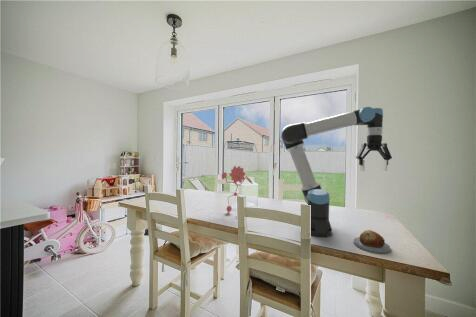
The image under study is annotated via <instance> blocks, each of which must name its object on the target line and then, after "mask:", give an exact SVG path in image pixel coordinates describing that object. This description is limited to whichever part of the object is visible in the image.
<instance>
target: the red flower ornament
mask: <svg viewBox="0 0 476 317" xmlns="http://www.w3.org/2000/svg"><path fill="white" fill-rule="evenodd" d="M228 175H229V177H231V178H230V180H231V181H227V180H228V179H227V176H228ZM228 175H227V172H225V171H224V172H222V174H221V176H220V177H221V179H222V180H224V179H225V183H227V184H230V183H231V184H235V185H236V189H235V192H233V194H232V195H229V196H228V197H227V203H228V206H227V207H226V211H227V212H226V215H227V216H228V214H229V213H230V212H231V211H233V208H232V206H231V205H230V203H229V201H230V200H229V198H231V197H233V196H234V197H238V196H239V195H238V193H237V190H238V186H241V185H242V184H243V183H244V181H245V180H247V181H248V182H249V183H250V184H252V185H253V181H252V180H251V179H250V178H249V177H248V176H246V172H244V167H241V165H239V166H236V165H234V166H233V168H231V169H230V173H229V174H228ZM239 183H240V184H239ZM235 211H237V209H236V210H235Z"/></svg>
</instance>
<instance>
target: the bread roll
mask: <svg viewBox="0 0 476 317" xmlns="http://www.w3.org/2000/svg"><path fill="white" fill-rule="evenodd" d="M359 237H360V238H359V239H360V242H361V243H362V244H364V245H366V246H369V247H374V248H381V247H383V246H384V244H385V243H386V242H385V238H384V237H383V236H382V235H381V234H379V233H378V232H376V231H374V230H371V229H368V230H364V231H363V232H361V233H360V236H359ZM384 242H385V243H384Z"/></svg>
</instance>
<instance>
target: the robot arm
mask: <svg viewBox="0 0 476 317" xmlns="http://www.w3.org/2000/svg"><path fill="white" fill-rule="evenodd" d="M383 118H384V110H383V108H380V107H374V108H373V107H371V106H365V107H362V108H360V109H356V110H353V111H348V112H345V113H340V114H337V115H333V116H329V117H325V118H321V119H317V120H314V121H310V122H304V121H303V122H297V123H292V124H288V125H286V126H284V127H283V129H282V130H281V135H280V136H281V139H282V143H283V144H284V147H285V149H286V151H288V152H289V154H290V156H291V159H292V161H293V165H294V168H295V169H296V172H297V175H298V177H299V180H300V183H301V186H302V187H301V189H300V190H301V192H302V195H303V197H304V201H305V202H306V205H307V204H308V205H311V235H310V236H313V237H314V236H315V237H319V238H320V237H321V238H322V237H323V238H327V237H331V236H332V234H333V229H332V225H331V222H330V198H331V197H330V193H329V192H328V191H327V190H324V189H322V187H321V184H320V183H319V182H317V180H316V178H315V176H314V173H313V170H312V167H311V165H310V162H309V159H308V158H307V154H306V152H305V150H304V144H305V142H304V140H306V139H308V138H309V137H311V136H316V135H319V134H323V133H328V132H332V131H335V130H338V129H339V130H340V129H343V128H348V127H353V126H367V127H366V134H367V136H366V142H362V143H361V145H360V149H358V152H357V154H356V156H355V159H357V160H359V161H358V165H359V167H360V168H359V171H361V172H364V171H365V157H366V156H367V155H369V153H370V152H371V151H373V152H374V151H375V152H378V153H379V155H380V156H381V157H382V171H383V172H387V171H388V166H389V161H390V160H392V159H393V157H392V154H391V152H390V150H389V148H388V143H386V142H384V143H382V141H383V121H384V120H383Z"/></svg>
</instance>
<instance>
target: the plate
mask: <svg viewBox="0 0 476 317" xmlns="http://www.w3.org/2000/svg"><path fill="white" fill-rule="evenodd" d="M359 238H360V236H359V237H355V238H354V239H353V245H354V246H355V247H357V248H359V249H360V250H363V251H365V252H368V253H374V254H387V253H390V252H391V246H390V245H389V244H388V243H386V242H384V243H385V244H384V246H383V247H381V248H374V247H369V246H366V245H364V244H362V243H361V242H360V239H359Z"/></svg>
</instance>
